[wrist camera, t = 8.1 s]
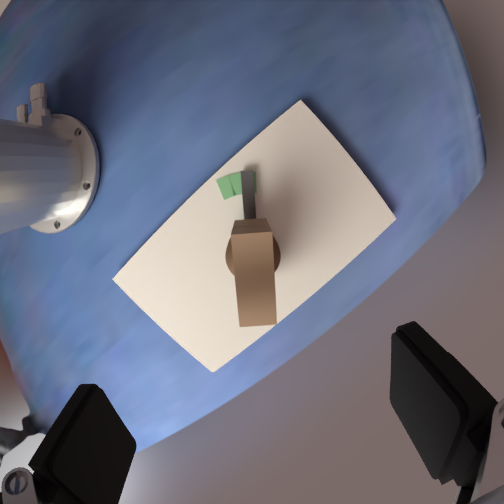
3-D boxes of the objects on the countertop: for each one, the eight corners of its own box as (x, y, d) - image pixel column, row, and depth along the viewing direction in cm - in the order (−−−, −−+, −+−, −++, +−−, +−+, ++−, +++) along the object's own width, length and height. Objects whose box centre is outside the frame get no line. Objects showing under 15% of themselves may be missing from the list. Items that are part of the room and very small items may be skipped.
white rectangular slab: (214, 364, 31) (212, 373, 29) (118, 274, 28) (111, 279, 27) (389, 216, 27) (397, 219, 26) (297, 103, 25) (300, 99, 23)
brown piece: (279, 280, 27) (292, 323, 19) (230, 284, 27) (224, 328, 19) (272, 169, 24) (285, 164, 16) (220, 173, 24) (207, 170, 16)
